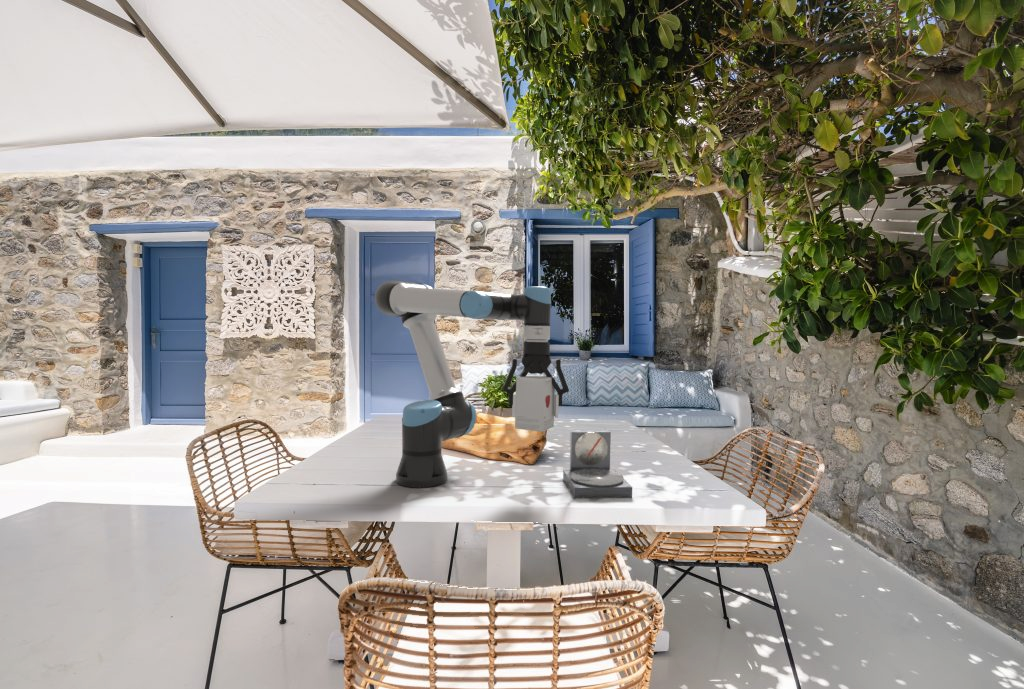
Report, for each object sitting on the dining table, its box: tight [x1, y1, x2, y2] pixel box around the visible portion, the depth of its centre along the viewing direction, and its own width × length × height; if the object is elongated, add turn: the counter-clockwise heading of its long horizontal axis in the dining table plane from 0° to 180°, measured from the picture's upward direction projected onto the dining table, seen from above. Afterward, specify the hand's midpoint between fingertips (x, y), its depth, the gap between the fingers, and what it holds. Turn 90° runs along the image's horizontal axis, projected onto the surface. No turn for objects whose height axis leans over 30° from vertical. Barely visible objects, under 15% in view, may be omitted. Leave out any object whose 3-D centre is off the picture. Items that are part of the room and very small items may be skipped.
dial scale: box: [562, 430, 633, 500], centre depth 153 cm, size 16×18×15 cm
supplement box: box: [514, 374, 556, 433], centre depth 151 cm, size 9×9×15 cm
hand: (534, 416), depth 151 cm, fingers closed on supplement box, 12 cm apart
